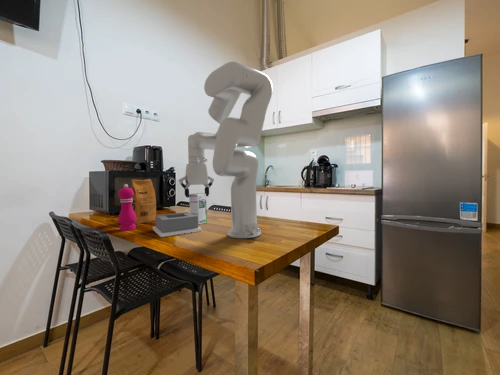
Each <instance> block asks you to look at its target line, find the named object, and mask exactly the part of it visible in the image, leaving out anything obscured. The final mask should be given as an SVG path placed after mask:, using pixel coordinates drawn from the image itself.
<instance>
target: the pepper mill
mask: <svg viewBox="0 0 500 375" xmlns="http://www.w3.org/2000/svg"><path fill="white" fill-rule="evenodd" d="M117 193H118V194H117V195H118V198H120V202H119V203H121V204H120V205H121V206H120V207H121V209H120V212H119V215H118V218H117V222H118V223H119V231H121V232H126V231H132V230H136V228H137V226H136V225H137V224H134V223H135V222H136V220H137V219H136V215H135V213H134V211H133V208H132V202H133V199H132V197H133V195H134V191H133V190H132V189H131V187H129V185H128V184H127V183H124V184H123V187H122V188H120V189H119V190H118V192H117Z"/></svg>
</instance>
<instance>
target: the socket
mask: <svg viewBox="0 0 500 375" xmlns="http://www.w3.org/2000/svg"><path fill="white" fill-rule="evenodd" d="M155 220H156V221H155V226H152V231H153V232H155V233H156V234H157V235H158V236H159V237H160V238H164V237H170V236H176V235H177V236H178V234H179V235H184V233H185V234H191V232H192V233H199V232H202V227H200V226H199V225H198V216H196V215H194V214H191V213H190V212H186V211H185V212H177V213H168V214H167V213H165V214H156V215H155Z"/></svg>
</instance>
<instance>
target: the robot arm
mask: <svg viewBox="0 0 500 375" xmlns="http://www.w3.org/2000/svg"><path fill="white" fill-rule="evenodd" d="M203 87H204V88H203V89H204V93H205V94H206V96H208V97H209V98H213V100H212V101H211V103H210V105H209V108H208V110H207V111H208V114H209V116H210V118H212V120H214V121H215V122H216V123H218V124H219V126H218V129H217V131H216V133H212V132H203V131H197V132H195V133H193V134H190V135H188V137H187V149H188V150H187V151H188V155H187V156H188V159H187V160H188V163H186V166H185V174H184V176H183V177H181V178H179V179H178V182H179V185H180V186H181V187H182V188H183V189H184V196H185V198H189V195H190V189H189V187H191V186H197V185H198V186H199V185H203V186H204V193H205V194H206V197H209V195H210V188H211V186H212V185H213V183H214V181H215V179H214V178H213V177H211V176H209V174H208V169H207V168H208V167H207V164H206V163H207V162H208V159H207V158H206V157H205V150H210V151H213V156H212V157H213V158H212V169H213V171H214V173H215V174H216V175H217V176H220V177H234V179H233V181H232V182H231V185H230V207H231V208H230V211H231V217H230V218H231V229H230V230H228V232H227V236H228V237H229V238H233V239H251V238H252V239H253V238H257V237H260V236H261V235H262V231H261V228H259V226H258V220H257V176H258V170H259V160H258V157H257V155H256V154H254V153H253V152H251V151H248V150H242V149H236V147H237V148H248V149H249V148H250V149H251V148H255V147H256V146H257V147H258V145H259V143H260V140H261V136H262V133H263V132H262V131H263V128H264V123H265V119H266V114H267V111H268V106H269V104H270V102H271V100H272V95H273V83H272V80H271V79H270V77H269V76H268V75H267V74H265V73H264V72H262V71H259V70H258V69H255V68H253V67H250V66H247V65H244V64H242V63H240V62H237V61H229V62H226V63H224V64H223V65H221V66H220V67H218V68H216V69H214V70H213V71H212V72H211V73H209V75H207V77H206V79H205V82H204V85H203ZM241 93H243V94H245V95H249V97H247V98H246V99H245V101H244V103H243V105H242V107H241V113H240V117H239V118H238V117H229V116H230V114H231V113H232V111H233V109H234V108H235V105H236V104H237V102H238V100H239V98H240V96H241ZM184 182H185V183H184Z"/></svg>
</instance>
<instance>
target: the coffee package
mask: <svg viewBox="0 0 500 375" xmlns="http://www.w3.org/2000/svg"><path fill="white" fill-rule="evenodd" d="M130 180H131V181H130V182H131V184H132V185H131V187H130V188H131V189H132V190H133V191H134V195H133V197H132V199H133V202H132V208H133V211H134V213H135V215H136V219H137V220H136V222H135V223H134V224H135V225H140V224H141V225H142V224H145V223H147V224H148V223H151V222H156V220H155V215H157V200H156V192H155V191H156V190H155V187H154V186H153V185H154V184H153V182H152V179H150V178H149V179H130Z"/></svg>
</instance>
